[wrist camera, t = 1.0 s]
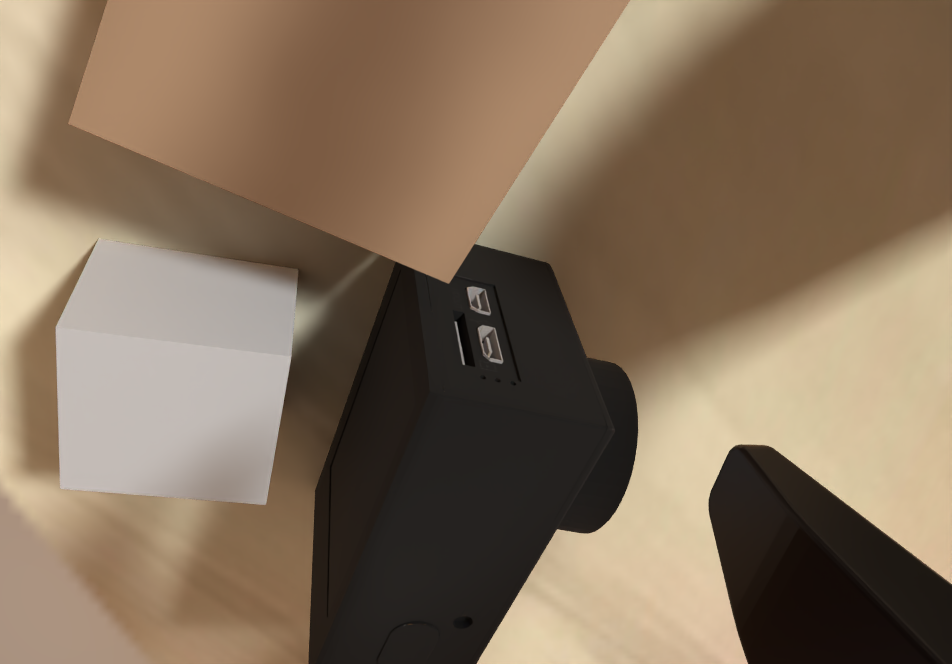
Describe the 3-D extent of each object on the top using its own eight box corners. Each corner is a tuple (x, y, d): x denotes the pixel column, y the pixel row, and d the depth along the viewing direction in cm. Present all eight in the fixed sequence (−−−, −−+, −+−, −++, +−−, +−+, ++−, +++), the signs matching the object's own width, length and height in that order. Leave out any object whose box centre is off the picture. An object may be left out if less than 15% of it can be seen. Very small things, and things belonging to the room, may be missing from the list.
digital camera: (467, 514, 29) (497, 703, 23) (314, 491, 27) (306, 689, 21) (590, 271, 23) (668, 441, 18) (408, 224, 22) (431, 396, 16)
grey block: (298, 266, 22) (291, 356, 19) (275, 405, 25) (265, 505, 22) (99, 235, 21) (55, 327, 18) (98, 386, 23) (59, 488, 20)
